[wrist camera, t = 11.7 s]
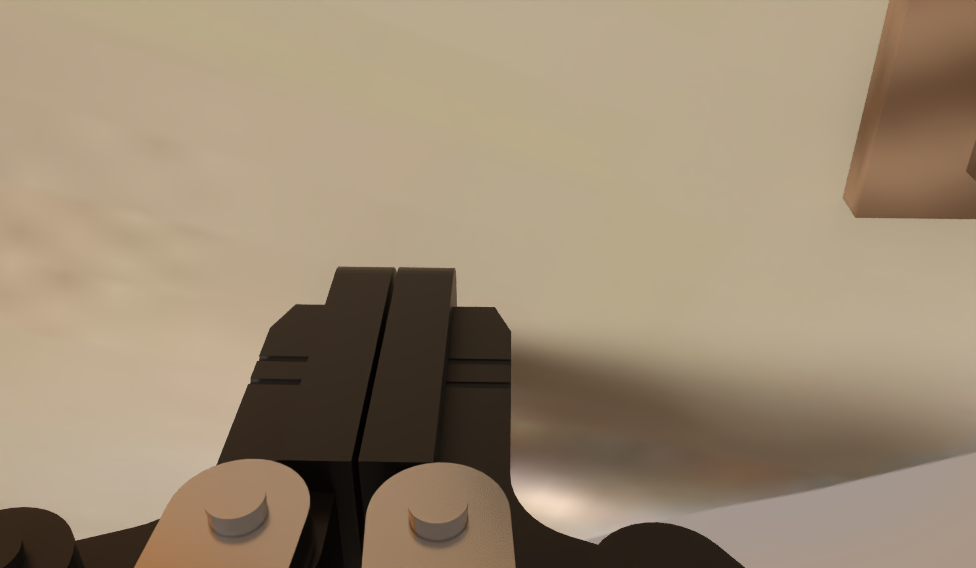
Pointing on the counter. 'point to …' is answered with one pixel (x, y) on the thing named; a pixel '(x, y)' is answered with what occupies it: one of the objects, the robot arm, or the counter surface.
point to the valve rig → (919, 116)
